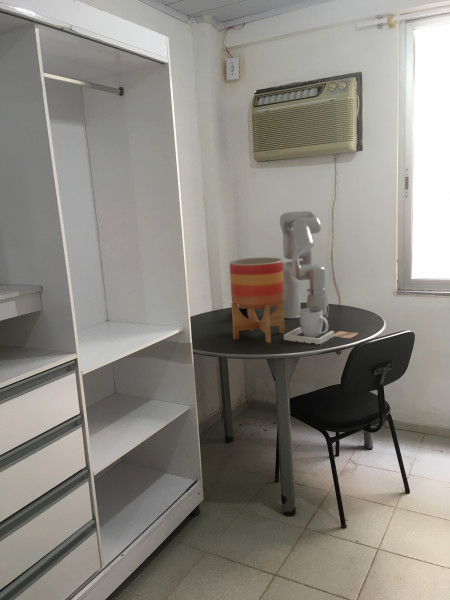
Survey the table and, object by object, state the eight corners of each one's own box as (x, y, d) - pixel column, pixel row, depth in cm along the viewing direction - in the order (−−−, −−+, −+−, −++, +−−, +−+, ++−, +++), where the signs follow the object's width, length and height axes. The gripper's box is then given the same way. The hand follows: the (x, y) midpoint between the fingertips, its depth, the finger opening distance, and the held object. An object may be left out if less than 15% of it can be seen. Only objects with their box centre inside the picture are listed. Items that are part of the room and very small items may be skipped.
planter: (242, 346, 230) (238, 266, 223) (226, 333, 256) (221, 260, 248) (295, 339, 237) (293, 260, 230) (274, 326, 263) (271, 255, 255)
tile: (330, 336, 239) (330, 336, 239) (339, 331, 246) (339, 331, 246) (350, 338, 233) (350, 338, 233) (358, 333, 241) (358, 333, 240)
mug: (334, 336, 237) (334, 310, 235) (321, 342, 230) (321, 314, 227) (308, 332, 248) (308, 306, 245) (295, 337, 240) (294, 311, 238)
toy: (254, 300, 306) (251, 309, 277) (255, 311, 307) (252, 321, 278) (235, 301, 308) (230, 309, 278) (236, 312, 309) (231, 321, 279)
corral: (283, 339, 237) (283, 334, 237) (299, 332, 249) (299, 327, 249) (320, 344, 226) (320, 339, 226) (334, 336, 238) (334, 331, 238)
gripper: (300, 292, 243) (301, 328, 246) (328, 294, 234) (328, 331, 238) (307, 289, 249) (308, 324, 252) (334, 291, 240) (335, 327, 244)
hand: (318, 328), depth 245 cm, fingers closed
